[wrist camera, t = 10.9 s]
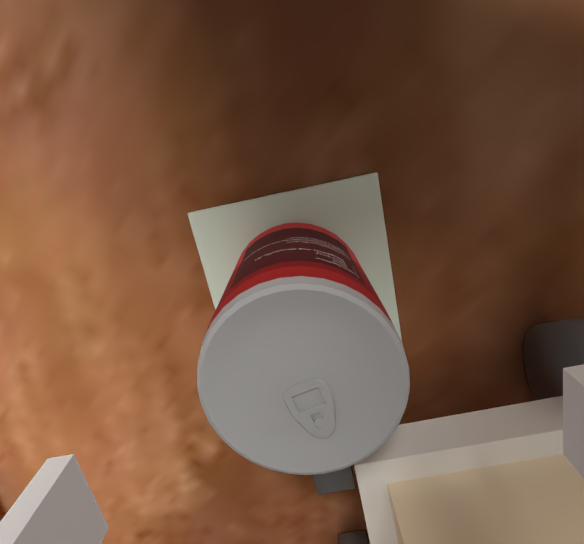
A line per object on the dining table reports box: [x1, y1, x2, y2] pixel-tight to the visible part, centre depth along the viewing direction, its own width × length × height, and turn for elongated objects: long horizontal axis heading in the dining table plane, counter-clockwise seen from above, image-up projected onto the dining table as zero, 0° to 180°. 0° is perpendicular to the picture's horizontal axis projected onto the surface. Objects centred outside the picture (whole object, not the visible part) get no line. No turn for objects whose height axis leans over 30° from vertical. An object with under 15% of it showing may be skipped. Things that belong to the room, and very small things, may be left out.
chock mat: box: [188, 172, 402, 341], centre depth 25 cm, size 11×11×1 cm
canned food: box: [197, 222, 410, 475], centre depth 20 cm, size 8×8×11 cm
